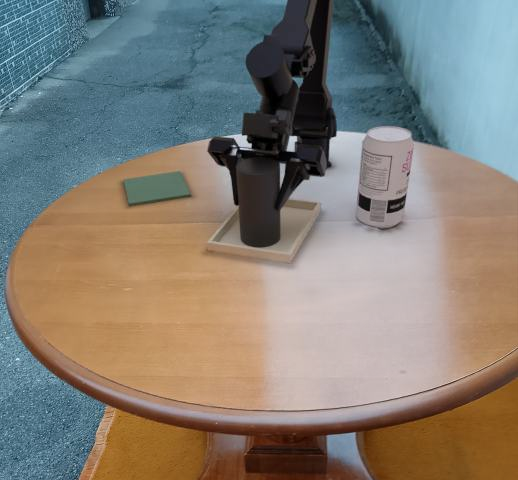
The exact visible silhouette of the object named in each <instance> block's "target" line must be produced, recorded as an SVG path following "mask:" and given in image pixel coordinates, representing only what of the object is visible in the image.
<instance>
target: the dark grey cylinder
mask: <svg viewBox="0 0 518 480" xmlns="http://www.w3.org/2000/svg"><path fill="white" fill-rule="evenodd" d="M236 174H237V190H238V206H239V223H240V238H241V241H242V242H243V243H244V244H245V245H248V246H251V247H258V248H261V247H268V246H272V245H274V244H276V243H277V242H278V241H279V240H280V237H281V232H280V211H277V210H276V205H277V199H278V195H279V192H280V188H281V163H279V162H278V161H276V160H274V159H271V158H266V157H254V158H248V159H244V160H242V161H240V162H239V163H238V164H237V165H236Z"/></svg>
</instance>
